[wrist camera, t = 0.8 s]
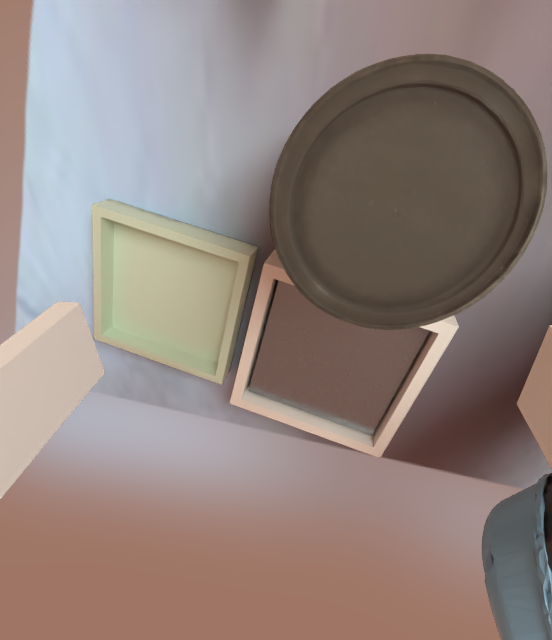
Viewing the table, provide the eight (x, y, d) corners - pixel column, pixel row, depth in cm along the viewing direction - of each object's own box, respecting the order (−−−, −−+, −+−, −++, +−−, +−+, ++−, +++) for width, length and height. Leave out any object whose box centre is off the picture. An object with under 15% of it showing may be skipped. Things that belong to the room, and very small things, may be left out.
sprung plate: (429, 322, 30) (431, 328, 29) (371, 427, 36) (371, 435, 35) (282, 273, 31) (279, 277, 30) (251, 384, 37) (248, 390, 36)
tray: (258, 247, 32) (249, 256, 30) (229, 370, 39) (221, 384, 37) (110, 198, 33) (92, 204, 31) (109, 327, 40) (94, 338, 38)
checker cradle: (449, 303, 30) (458, 327, 27) (379, 427, 38) (379, 458, 35) (276, 247, 32) (264, 262, 28) (242, 378, 39) (229, 403, 36)
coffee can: (292, 244, 30) (270, 326, 17) (295, 93, 25) (266, 57, 13) (426, 247, 29) (505, 337, 16) (454, 90, 24) (595, 47, 12)
